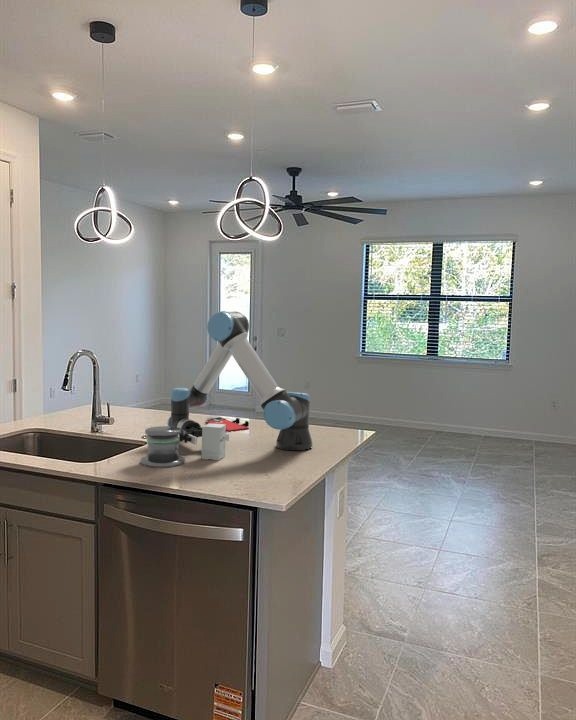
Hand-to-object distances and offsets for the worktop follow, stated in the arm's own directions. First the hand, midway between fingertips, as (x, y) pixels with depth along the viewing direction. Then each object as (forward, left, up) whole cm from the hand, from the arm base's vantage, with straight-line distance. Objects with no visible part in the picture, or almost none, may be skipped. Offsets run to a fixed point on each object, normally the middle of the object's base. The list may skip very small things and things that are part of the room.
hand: (212, 439), depth 224 cm
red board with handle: (+34, -54, -8) cm, 64 cm away
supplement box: (0, 0, -7) cm, 7 cm away
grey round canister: (+11, +16, -7) cm, 20 cm away
